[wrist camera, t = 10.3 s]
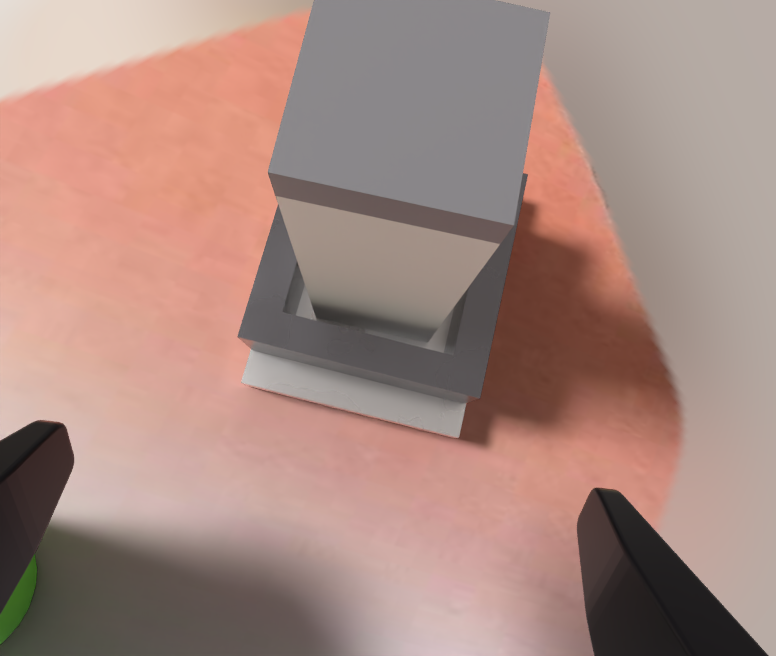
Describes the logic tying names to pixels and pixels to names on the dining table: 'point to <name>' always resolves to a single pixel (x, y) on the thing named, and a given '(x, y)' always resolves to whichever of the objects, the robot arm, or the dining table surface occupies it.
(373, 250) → the plug
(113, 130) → the dining table surface
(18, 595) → the cup
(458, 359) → the socket
